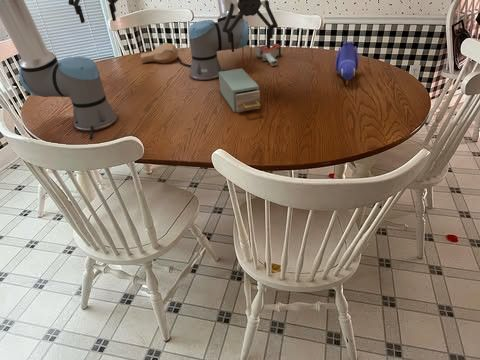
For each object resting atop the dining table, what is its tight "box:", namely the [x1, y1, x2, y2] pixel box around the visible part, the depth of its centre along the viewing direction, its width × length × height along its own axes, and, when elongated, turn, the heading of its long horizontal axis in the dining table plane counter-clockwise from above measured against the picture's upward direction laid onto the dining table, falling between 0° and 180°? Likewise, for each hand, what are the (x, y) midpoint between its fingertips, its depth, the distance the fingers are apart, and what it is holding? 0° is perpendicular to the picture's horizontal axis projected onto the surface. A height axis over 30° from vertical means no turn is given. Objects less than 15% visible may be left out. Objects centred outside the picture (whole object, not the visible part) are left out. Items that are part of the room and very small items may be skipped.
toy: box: [334, 40, 360, 86], centre depth 151 cm, size 10×17×25 cm
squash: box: [140, 42, 179, 64], centre depth 186 cm, size 11×20×9 cm, turn 92°
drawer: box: [236, 89, 262, 113], centre depth 137 cm, size 25×9×7 cm, turn 17°
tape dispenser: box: [254, 43, 282, 67], centre depth 181 cm, size 18×5×20 cm
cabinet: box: [218, 67, 260, 113], centre depth 141 cm, size 21×10×9 cm, turn 17°
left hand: (98, 21), depth 154 cm, fingers open, 13 cm apart
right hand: (250, 49), depth 134 cm, fingers open, 13 cm apart
